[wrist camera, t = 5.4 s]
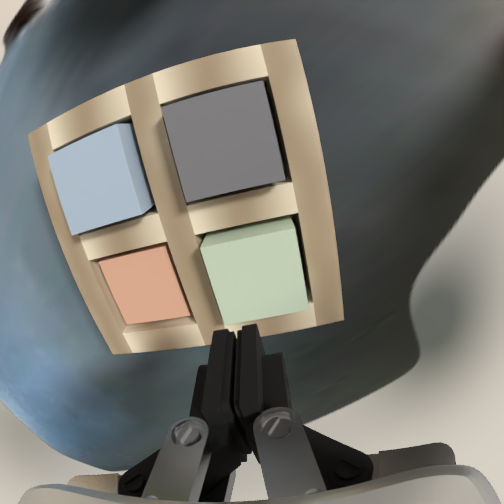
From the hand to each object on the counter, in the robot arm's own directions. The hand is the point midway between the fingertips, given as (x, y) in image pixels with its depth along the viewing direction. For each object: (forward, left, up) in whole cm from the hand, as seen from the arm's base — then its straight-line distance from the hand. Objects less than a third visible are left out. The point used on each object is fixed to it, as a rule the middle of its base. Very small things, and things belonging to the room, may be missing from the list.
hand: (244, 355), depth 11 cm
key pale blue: (+7, -8, -9) cm, 14 cm away
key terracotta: (+7, 0, -10) cm, 12 cm away
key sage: (-1, 0, -9) cm, 9 cm away
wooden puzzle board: (+3, -4, -11) cm, 12 cm away
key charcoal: (-1, -8, -9) cm, 12 cm away
